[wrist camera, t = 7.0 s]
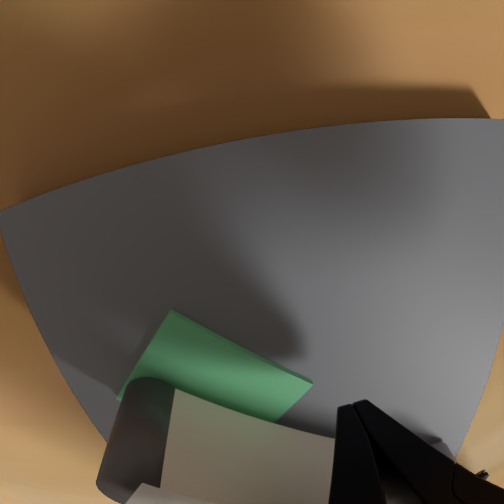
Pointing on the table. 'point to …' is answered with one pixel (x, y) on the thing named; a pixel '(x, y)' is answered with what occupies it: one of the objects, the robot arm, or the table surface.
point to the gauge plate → (281, 274)
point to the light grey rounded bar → (209, 454)
